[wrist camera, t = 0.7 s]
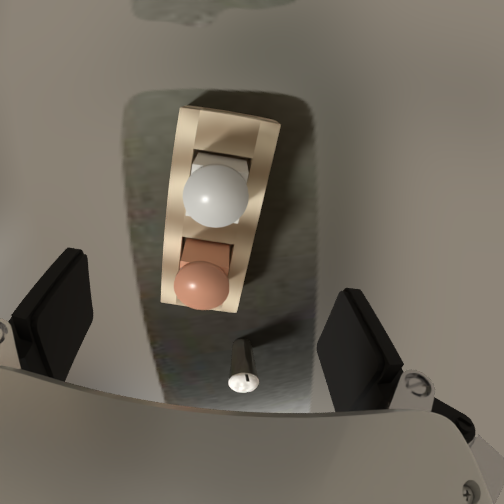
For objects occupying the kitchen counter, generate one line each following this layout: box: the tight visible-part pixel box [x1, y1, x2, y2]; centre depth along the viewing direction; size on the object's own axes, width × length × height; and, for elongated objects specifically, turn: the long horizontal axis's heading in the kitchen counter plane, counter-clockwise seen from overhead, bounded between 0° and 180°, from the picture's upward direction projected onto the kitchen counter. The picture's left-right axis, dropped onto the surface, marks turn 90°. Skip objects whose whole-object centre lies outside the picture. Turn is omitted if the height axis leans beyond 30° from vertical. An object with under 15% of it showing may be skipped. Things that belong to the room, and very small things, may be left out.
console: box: [161, 105, 281, 313], centre depth 35 cm, size 24×10×5 cm, turn 168°
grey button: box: [183, 153, 249, 228], centre depth 29 cm, size 6×6×6 cm
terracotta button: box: [174, 238, 229, 310], centre depth 34 cm, size 6×6×6 cm
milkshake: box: [229, 338, 259, 393], centre depth 45 cm, size 4×5×10 cm
